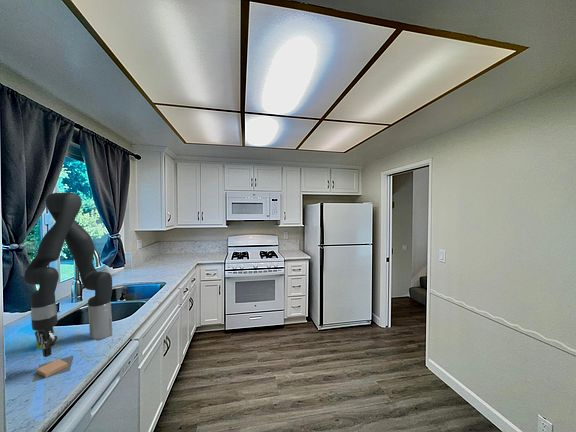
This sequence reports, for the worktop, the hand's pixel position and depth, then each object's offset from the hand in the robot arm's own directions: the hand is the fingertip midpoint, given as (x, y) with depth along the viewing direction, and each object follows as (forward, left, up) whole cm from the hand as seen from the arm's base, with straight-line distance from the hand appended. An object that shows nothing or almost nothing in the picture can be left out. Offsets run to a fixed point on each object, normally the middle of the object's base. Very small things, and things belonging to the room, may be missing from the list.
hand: (47, 355), depth 103 cm
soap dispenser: (+5, -22, -6) cm, 24 cm away
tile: (0, 0, -4) cm, 4 cm away
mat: (-2, +2, -6) cm, 6 cm away
